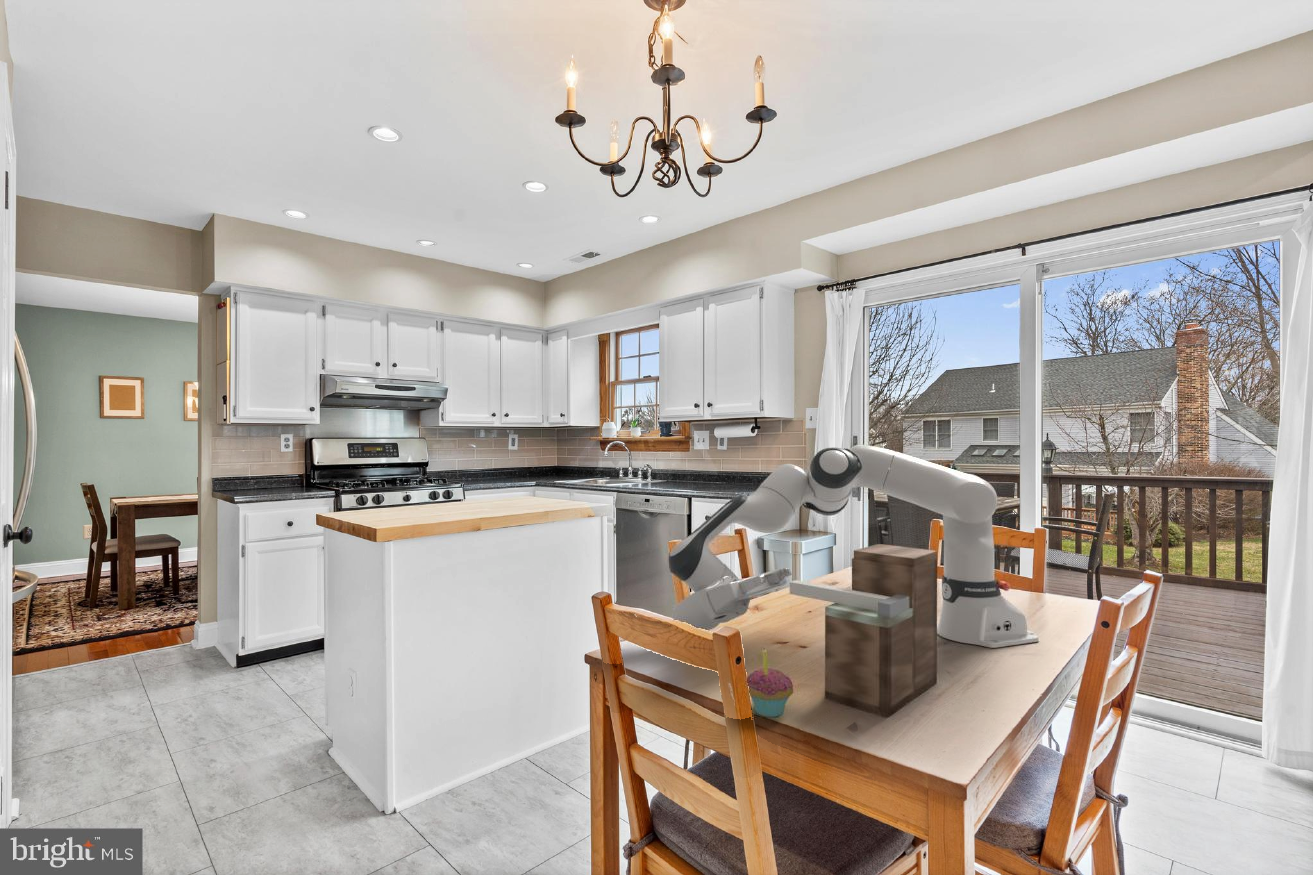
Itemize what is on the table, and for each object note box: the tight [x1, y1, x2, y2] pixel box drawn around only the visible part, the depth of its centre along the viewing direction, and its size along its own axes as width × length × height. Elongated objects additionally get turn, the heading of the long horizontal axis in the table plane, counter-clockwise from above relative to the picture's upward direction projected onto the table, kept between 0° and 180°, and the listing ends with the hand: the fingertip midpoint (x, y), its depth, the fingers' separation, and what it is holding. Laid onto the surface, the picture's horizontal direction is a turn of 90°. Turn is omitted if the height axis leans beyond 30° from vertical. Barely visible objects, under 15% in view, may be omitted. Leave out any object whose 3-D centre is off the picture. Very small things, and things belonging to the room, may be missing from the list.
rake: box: [789, 579, 909, 618], centre depth 125 cm, size 22×8×2 cm, turn 46°
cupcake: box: [746, 646, 794, 718], centre depth 117 cm, size 9×8×12 cm
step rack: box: [824, 543, 938, 719], centre depth 126 cm, size 12×22×26 cm, turn 136°
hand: (776, 574), depth 135 cm, fingers open, 8 cm apart
